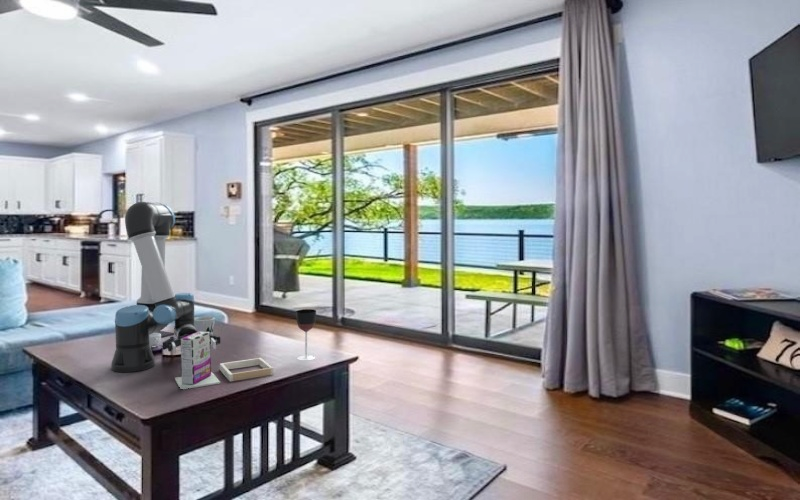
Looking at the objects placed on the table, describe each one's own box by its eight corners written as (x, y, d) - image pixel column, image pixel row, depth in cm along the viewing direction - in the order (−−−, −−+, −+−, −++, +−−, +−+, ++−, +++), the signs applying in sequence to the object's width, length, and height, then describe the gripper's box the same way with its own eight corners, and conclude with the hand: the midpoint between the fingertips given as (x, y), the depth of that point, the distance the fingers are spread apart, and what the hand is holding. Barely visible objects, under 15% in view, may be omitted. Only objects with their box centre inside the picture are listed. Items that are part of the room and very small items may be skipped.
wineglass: (319, 356, 213) (320, 310, 212) (307, 361, 205) (307, 313, 204) (304, 354, 217) (304, 308, 215) (292, 359, 209) (292, 311, 208)
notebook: (136, 345, 231) (174, 335, 250) (135, 342, 231) (174, 332, 250) (117, 342, 236) (156, 333, 256) (117, 338, 236) (156, 330, 256)
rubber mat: (180, 389, 171) (180, 388, 171) (174, 379, 182) (174, 377, 181) (220, 383, 177) (220, 381, 177) (212, 373, 188) (212, 372, 188)
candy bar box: (199, 374, 185) (198, 330, 184) (211, 375, 184) (211, 331, 183) (180, 384, 174) (179, 338, 173) (193, 385, 173) (192, 338, 172)
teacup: (139, 346, 227) (139, 334, 227) (156, 343, 233) (156, 332, 233) (148, 350, 221) (148, 338, 220) (166, 347, 226) (166, 335, 226)
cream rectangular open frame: (229, 381, 180) (229, 374, 180) (219, 369, 193) (219, 363, 193) (273, 374, 188) (273, 367, 188) (260, 363, 202) (260, 357, 202)
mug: (210, 341, 238) (210, 320, 237) (179, 340, 238) (178, 320, 237) (218, 336, 248) (218, 316, 247) (188, 335, 248) (188, 315, 248)
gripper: (220, 341, 206) (230, 353, 187) (153, 348, 194) (157, 362, 175) (220, 323, 205) (230, 333, 187) (152, 329, 193) (156, 341, 175)
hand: (195, 347), depth 181 cm, fingers open, 13 cm apart
